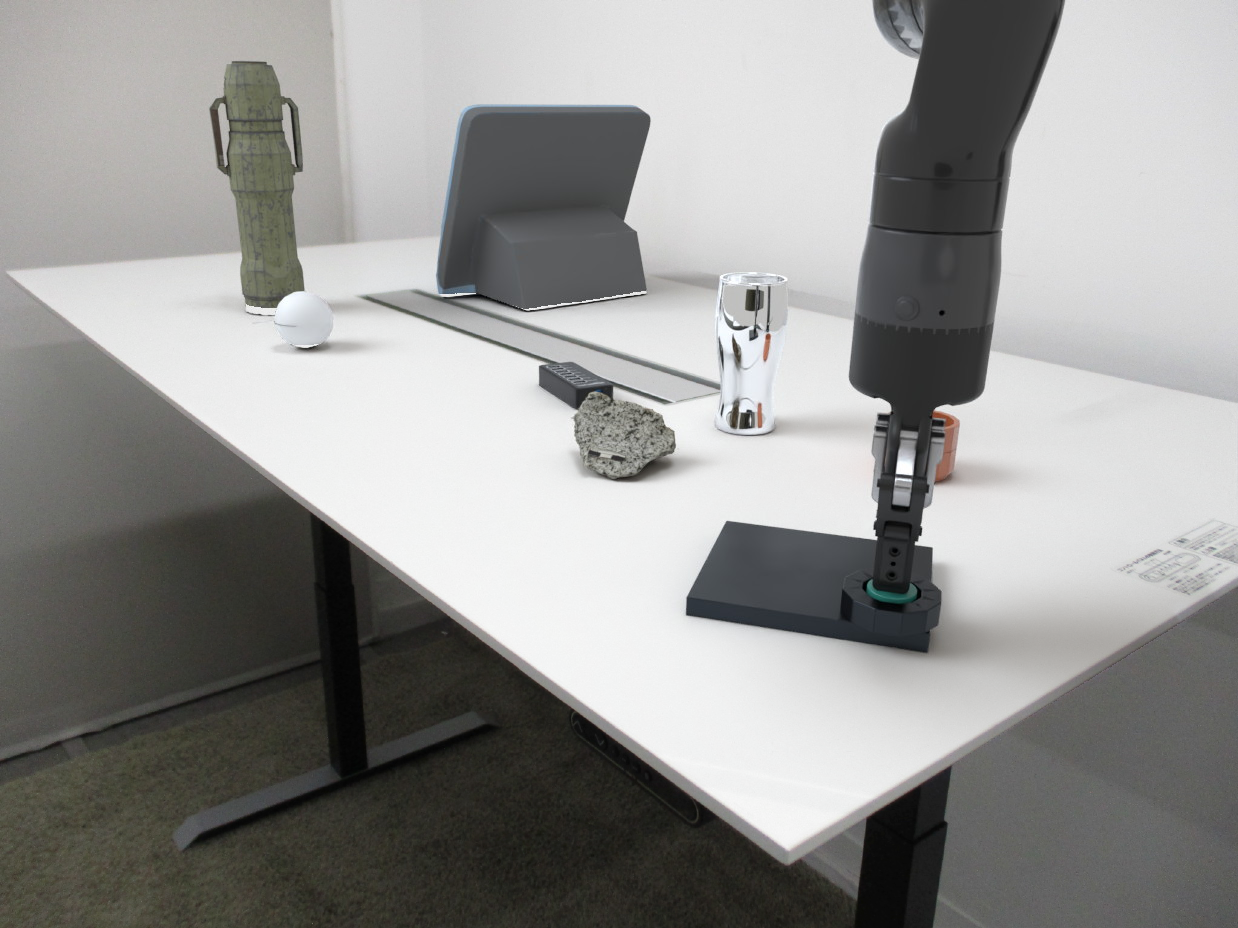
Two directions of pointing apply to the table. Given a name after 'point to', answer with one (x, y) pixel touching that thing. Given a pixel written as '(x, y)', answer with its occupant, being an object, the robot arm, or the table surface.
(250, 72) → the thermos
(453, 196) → the touchscreen device
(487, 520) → the table surface
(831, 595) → the scale
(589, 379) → the multiport hub
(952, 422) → the terracotta cup
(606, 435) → the rock sample
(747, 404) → the beer glass
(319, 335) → the white ball
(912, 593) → the tare button
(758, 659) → the table surface
